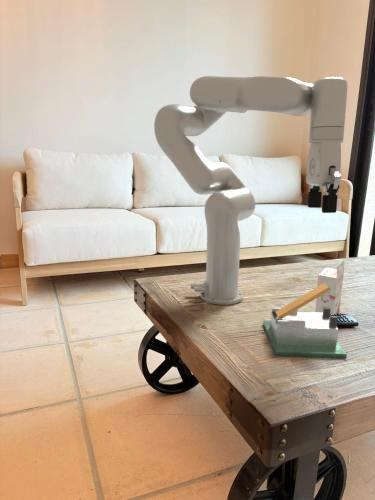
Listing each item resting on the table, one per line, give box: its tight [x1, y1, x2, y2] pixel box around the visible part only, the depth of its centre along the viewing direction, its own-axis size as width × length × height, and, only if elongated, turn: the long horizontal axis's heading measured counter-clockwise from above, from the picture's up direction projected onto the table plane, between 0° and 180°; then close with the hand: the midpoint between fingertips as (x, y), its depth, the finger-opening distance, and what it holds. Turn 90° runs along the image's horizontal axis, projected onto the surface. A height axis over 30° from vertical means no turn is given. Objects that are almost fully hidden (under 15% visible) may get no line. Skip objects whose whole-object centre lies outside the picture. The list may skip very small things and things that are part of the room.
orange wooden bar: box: [276, 283, 330, 318], centre depth 89 cm, size 13×3×1 cm
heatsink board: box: [262, 307, 348, 359], centre depth 90 cm, size 15×16×7 cm
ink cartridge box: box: [314, 259, 345, 315], centre depth 105 cm, size 9×5×15 cm, turn 148°
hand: (321, 209), depth 95 cm, fingers open, 9 cm apart
